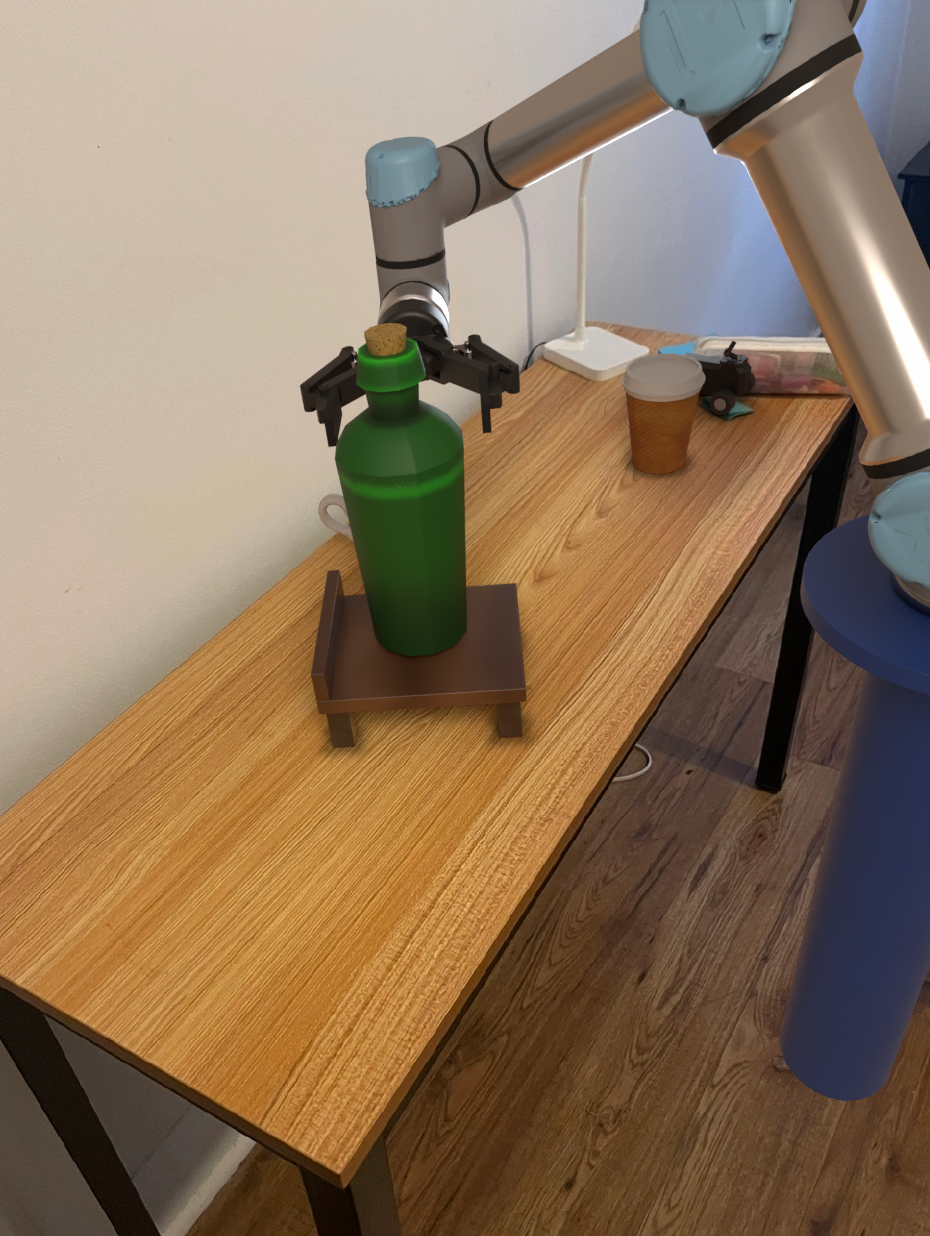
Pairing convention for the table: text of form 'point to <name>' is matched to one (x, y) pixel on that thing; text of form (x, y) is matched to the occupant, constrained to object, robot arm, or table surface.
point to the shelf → (417, 662)
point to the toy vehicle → (725, 378)
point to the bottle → (405, 500)
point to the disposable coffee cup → (661, 409)
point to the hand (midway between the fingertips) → (407, 425)
